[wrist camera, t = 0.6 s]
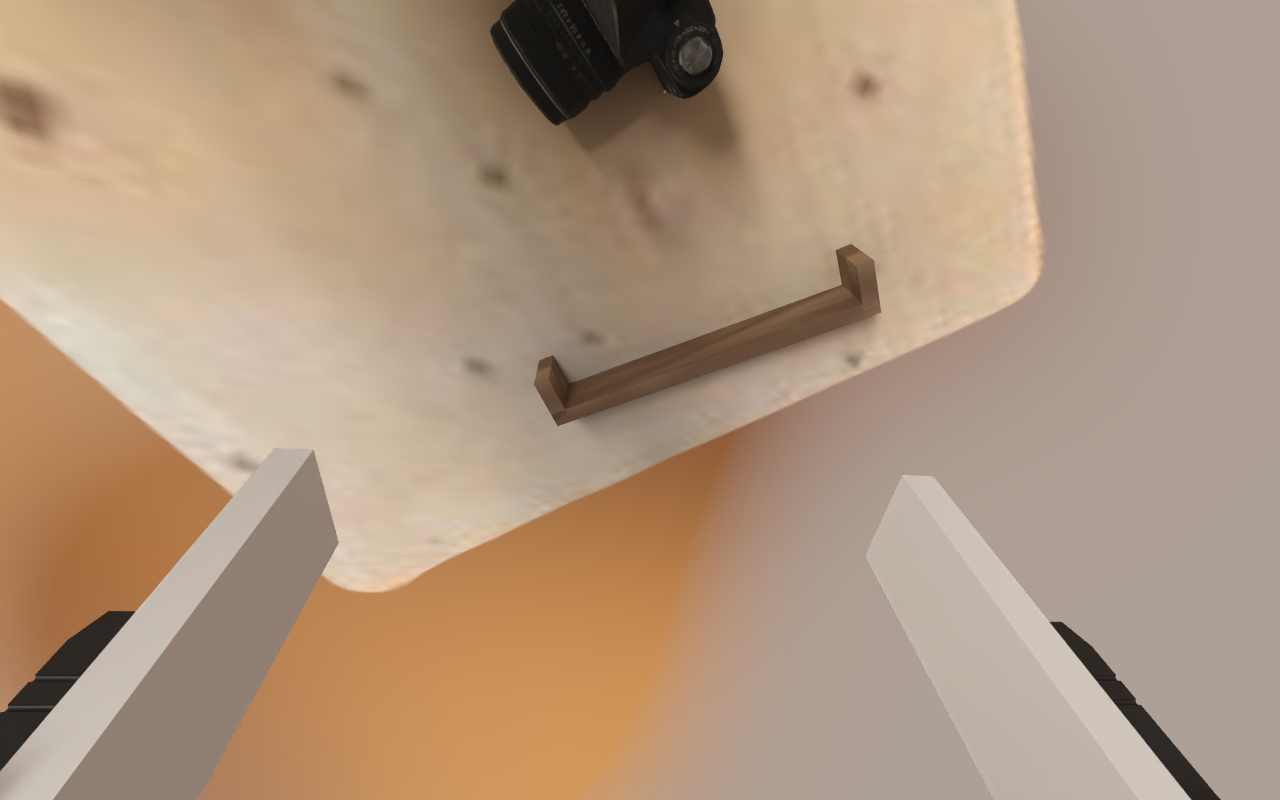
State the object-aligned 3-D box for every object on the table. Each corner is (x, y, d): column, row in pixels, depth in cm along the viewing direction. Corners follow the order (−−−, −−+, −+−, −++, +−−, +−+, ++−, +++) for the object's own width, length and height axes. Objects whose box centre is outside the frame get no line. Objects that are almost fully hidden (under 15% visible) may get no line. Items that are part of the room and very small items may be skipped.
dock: (539, 360, 45) (534, 384, 41) (851, 244, 41) (873, 260, 38) (561, 400, 47) (557, 426, 43) (859, 293, 43) (881, 312, 40)
